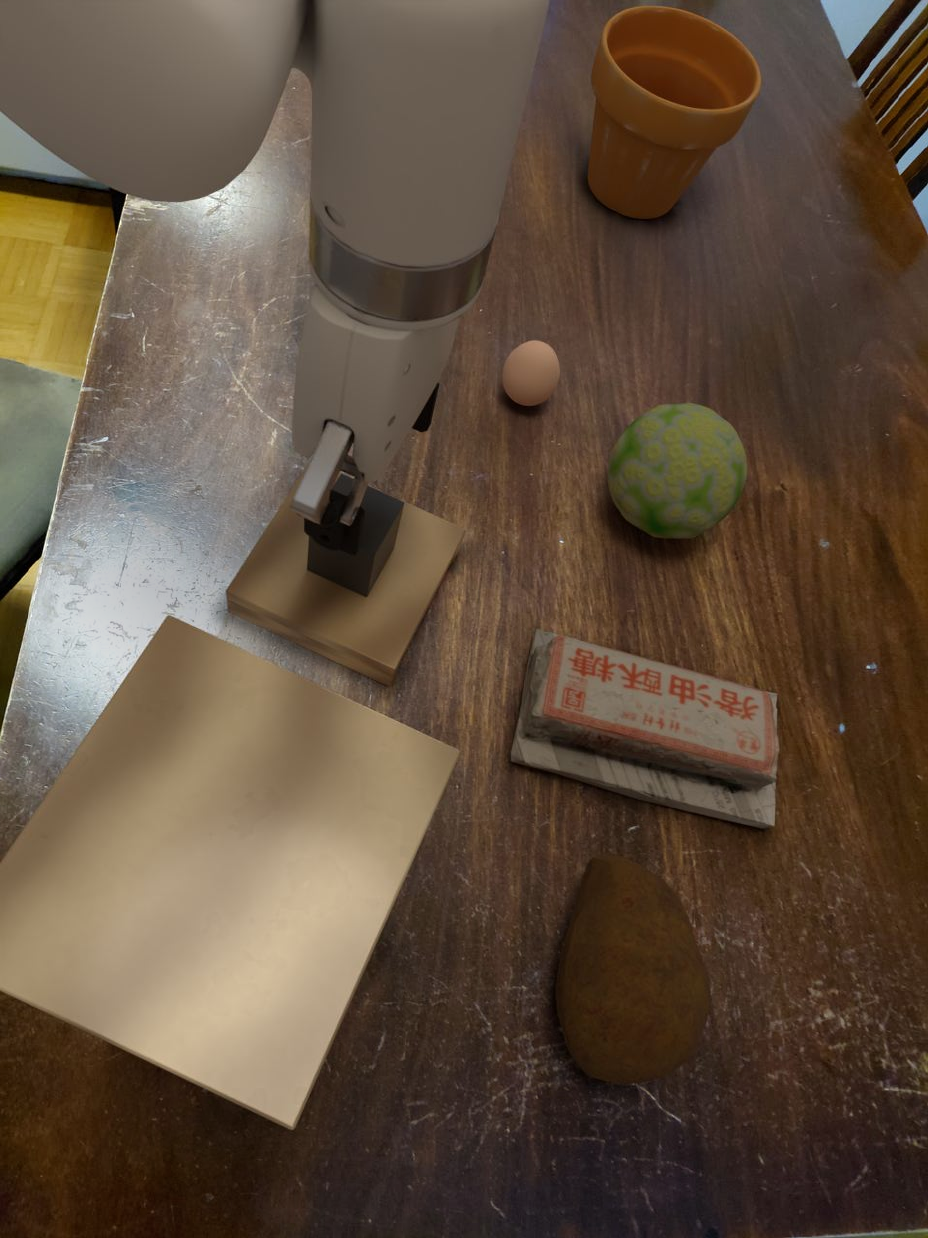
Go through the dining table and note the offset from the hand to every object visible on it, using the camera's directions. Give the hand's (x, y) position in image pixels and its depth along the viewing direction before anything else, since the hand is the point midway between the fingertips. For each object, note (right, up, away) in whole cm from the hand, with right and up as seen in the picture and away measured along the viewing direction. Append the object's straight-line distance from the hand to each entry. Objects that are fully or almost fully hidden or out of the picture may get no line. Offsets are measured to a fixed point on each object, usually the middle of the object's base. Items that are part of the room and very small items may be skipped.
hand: (369, 478), depth 53 cm
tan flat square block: (-3, -5, +11) cm, 12 cm away
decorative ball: (+20, 0, +19) cm, 27 cm away
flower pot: (+22, +34, +36) cm, 54 cm away
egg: (+10, +10, +21) cm, 26 cm away
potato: (+14, -30, +2) cm, 33 cm away
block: (-2, -4, +8) cm, 9 cm away
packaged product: (+18, -16, +10) cm, 26 cm away
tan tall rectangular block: (-7, -28, -1) cm, 29 cm away
